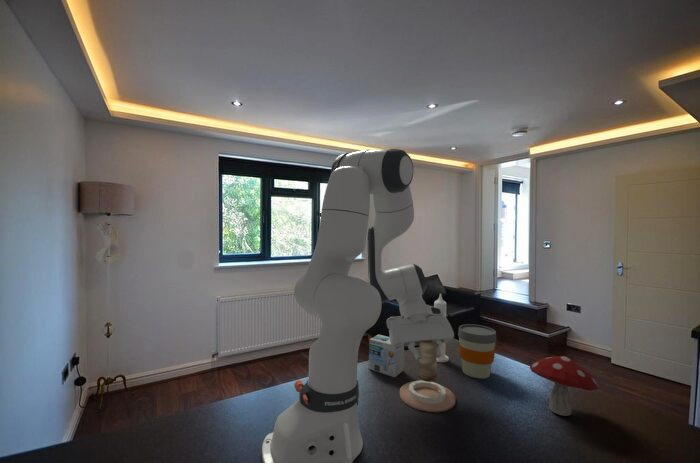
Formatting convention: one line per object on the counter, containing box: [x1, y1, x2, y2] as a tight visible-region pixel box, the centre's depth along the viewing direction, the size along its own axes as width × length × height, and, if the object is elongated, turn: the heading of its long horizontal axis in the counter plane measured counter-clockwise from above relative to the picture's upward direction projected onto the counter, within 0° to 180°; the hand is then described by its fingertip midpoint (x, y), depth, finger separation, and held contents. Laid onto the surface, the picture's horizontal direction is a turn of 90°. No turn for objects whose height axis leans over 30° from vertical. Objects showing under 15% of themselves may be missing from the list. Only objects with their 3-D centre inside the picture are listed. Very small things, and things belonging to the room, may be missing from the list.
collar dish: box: [399, 379, 456, 413], centre depth 95 cm, size 16×16×2 cm
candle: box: [433, 293, 450, 363], centre depth 123 cm, size 7×7×25 cm
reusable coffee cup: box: [457, 323, 498, 379], centre depth 112 cm, size 13×12×15 cm
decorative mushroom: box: [529, 355, 599, 417], centre depth 88 cm, size 16×16×15 cm
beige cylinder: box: [418, 341, 438, 382], centre depth 95 cm, size 5×5×10 cm
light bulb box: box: [368, 334, 405, 378], centre depth 112 cm, size 11×7×11 cm, turn 55°
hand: (429, 357), depth 94 cm, fingers closed on beige cylinder, 5 cm apart
